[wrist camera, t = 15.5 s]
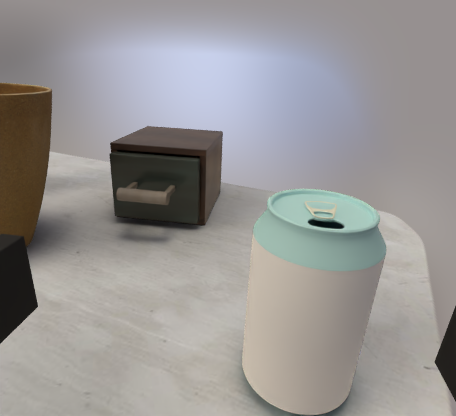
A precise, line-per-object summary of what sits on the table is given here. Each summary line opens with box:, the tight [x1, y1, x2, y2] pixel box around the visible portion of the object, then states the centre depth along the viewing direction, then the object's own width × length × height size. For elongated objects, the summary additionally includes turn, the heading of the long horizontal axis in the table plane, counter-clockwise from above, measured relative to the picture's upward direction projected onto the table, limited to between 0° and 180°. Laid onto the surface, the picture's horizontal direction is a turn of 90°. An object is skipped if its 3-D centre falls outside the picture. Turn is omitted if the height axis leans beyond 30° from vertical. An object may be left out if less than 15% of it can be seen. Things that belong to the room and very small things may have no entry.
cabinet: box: [110, 126, 223, 225], centre depth 47 cm, size 13×12×10 cm
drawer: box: [110, 150, 200, 224], centre depth 43 cm, size 16×10×8 cm, turn 172°
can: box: [242, 189, 386, 415], centre depth 20 cm, size 7×7×12 cm
